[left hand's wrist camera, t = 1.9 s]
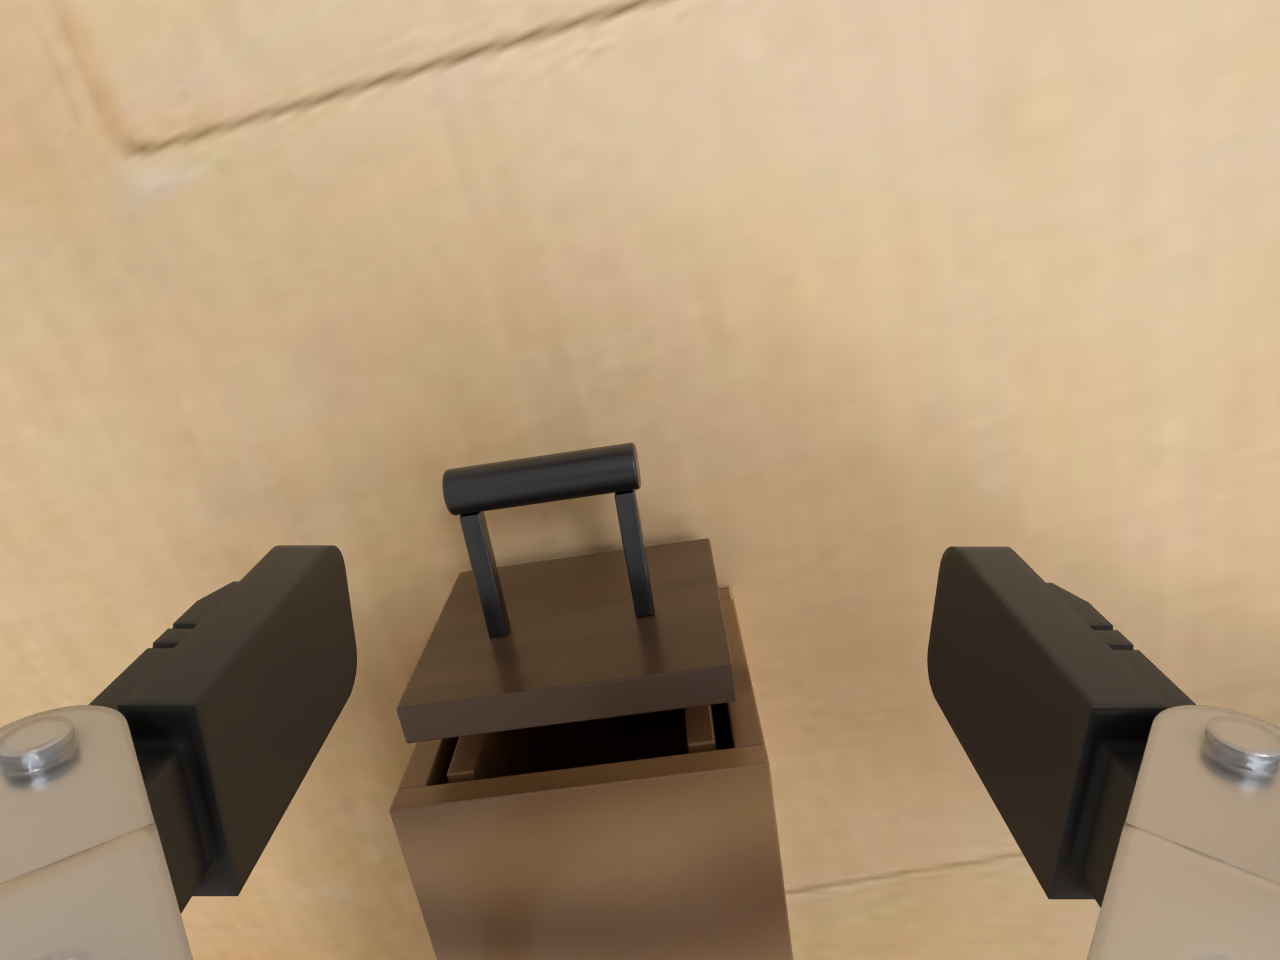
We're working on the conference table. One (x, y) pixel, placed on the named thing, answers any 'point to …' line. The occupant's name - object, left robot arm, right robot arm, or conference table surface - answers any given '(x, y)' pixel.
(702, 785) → the cabinet
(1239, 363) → the conference table surface
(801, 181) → the conference table surface
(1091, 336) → the conference table surface
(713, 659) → the drawer
